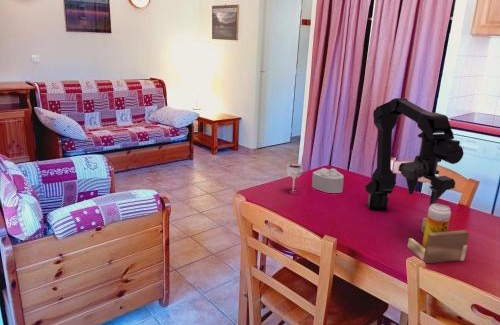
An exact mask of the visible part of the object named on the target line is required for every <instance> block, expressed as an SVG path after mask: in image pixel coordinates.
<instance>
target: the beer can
mask: <svg viewBox="0 0 500 325" xmlns="http://www.w3.org/2000/svg"><path fill="white" fill-rule="evenodd" d="M451 216H452V211H451V208H450V206H448V205H446V204H442V203H435V204H431V205H430V206H429V207H428V211H427V217H426V218H427V221H426V227H425V232H424V233H423V239H422V244H421V246H423V247H424V248H426V243H427V237H428V233H438V232H449V231H448V230H449V226H450V221H451Z"/></svg>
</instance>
